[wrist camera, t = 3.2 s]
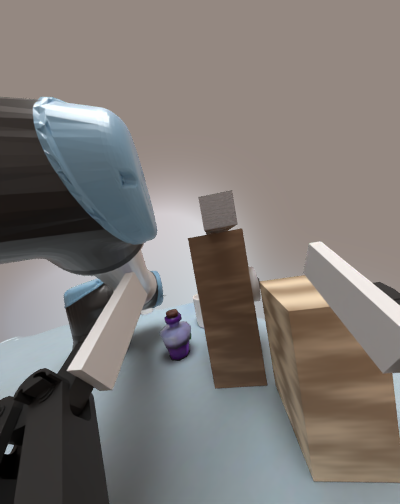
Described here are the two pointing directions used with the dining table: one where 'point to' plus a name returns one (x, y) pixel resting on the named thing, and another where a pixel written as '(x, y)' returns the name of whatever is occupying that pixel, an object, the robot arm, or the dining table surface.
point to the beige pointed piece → (147, 311)
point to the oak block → (330, 387)
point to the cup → (198, 310)
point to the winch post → (229, 308)
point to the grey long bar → (218, 212)
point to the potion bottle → (176, 335)
